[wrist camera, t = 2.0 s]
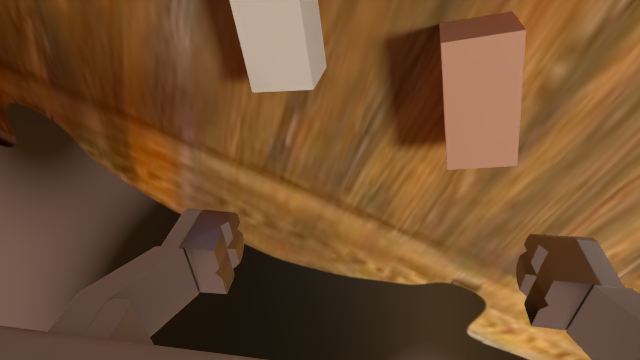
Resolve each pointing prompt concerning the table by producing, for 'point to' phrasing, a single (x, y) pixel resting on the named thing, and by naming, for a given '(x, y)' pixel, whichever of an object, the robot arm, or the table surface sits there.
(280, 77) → the cream brick
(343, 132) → the table surface
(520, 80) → the terracotta brick
